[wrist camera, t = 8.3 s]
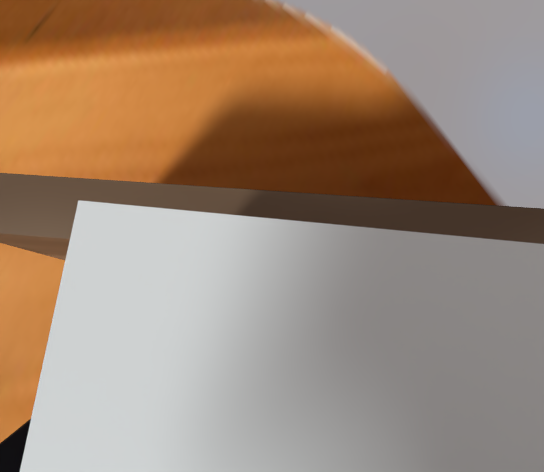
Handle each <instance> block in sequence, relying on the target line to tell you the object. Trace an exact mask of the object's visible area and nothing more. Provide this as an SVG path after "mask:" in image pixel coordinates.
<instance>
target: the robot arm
mask: <svg viewBox="0 0 544 472" xmlns="http://www.w3.org/2000/svg"><path fill="white" fill-rule="evenodd" d="M30 421H31V419H30V420H29V421H27V422H26V423H25V424H24V425H22V426H21V427H20V428H19V429H17V430H16V431H15V432H14V433H12V434H11V435H10V436H9V437H8V438H6V439H5V440H4V441H3V442H1V443H0V472H20V468H21V463H22V458H23V454H24V449H25V445H26V440H27V435H28V431H29V426H30Z"/></svg>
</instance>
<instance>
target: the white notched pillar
mask: <svg viewBox="0 0 544 472" xmlns="http://www.w3.org/2000/svg"><path fill="white" fill-rule="evenodd" d="M20 472H544V244H538V243H527V242H516V241H506V240H495V239H484V238H474V237H463V236H453V235H442V234H431V233H421V232H410V231H399V230H389V229H378V228H367V227H357V226H346V225H336V224H325V223H314V222H304V221H293V220H282V219H272V218H261V217H251V216H240V215H229V214H219V213H208V212H197V211H187V210H176V209H165V208H155V207H144V206H134V205H123V204H112V203H102V202H91V201H80V200H78V204H77V209H76V214H75V218H74V223H73V228H72V232H71V237H70V241H69V246H68V251H67V255H66V260H65V264H64V269H63V274H62V278H61V283H60V288H59V292H58V297H57V301H56V306H55V311H54V315H53V320H52V324H51V329H50V334H49V338H48V343H47V348H46V352H45V357H44V361H43V366H42V371H41V375H40V380H39V385H38V389H37V394H36V398H35V403H34V408H33V412H32V417H31V421H30V426H29V431H28V435H27V440H26V445H25V449H24V454H23V458H22V463H21V468H20Z"/></svg>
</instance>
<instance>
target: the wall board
mask: <svg viewBox="0 0 544 472" xmlns="http://www.w3.org/2000/svg"><path fill="white" fill-rule="evenodd" d="M78 200H80V201H91V202H102V203H112V204H123V205H134V206H144V207H155V208H165V209H176V210H187V211H197V212H208V213H219V214H229V215H240V216H251V217H261V218H272V219H282V220H293V221H304V222H314V223H325V224H336V225H346V226H357V227H367V228H378V229H389V230H399V231H410V232H421V233H431V234H442V235H453V236H463V237H474V238H484V239H495V240H506V241H516V242H527V243H538V244H544V209H540V208H523V207H509V206H494V205H479V204H464V203H448V202H433V201H418V200H403V199H388V198H372V197H357V196H342V195H327V194H312V193H296V192H281V191H266V190H251V189H236V188H220V187H205V186H190V185H175V184H160V183H144V182H129V181H114V180H99V179H83V178H68V177H53V176H38V175H23V174H7V173H0V243H3V244H7V245H11V246H14V247H18V248H22V249H25V250H29V251H33V252H36V253H40V254H44V255H47V256H51V257H55V258H58V259H62V260H66V255H67V251H68V246H69V241H70V237H71V232H72V228H73V223H74V218H75V214H76V209H77V204H78Z"/></svg>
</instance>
